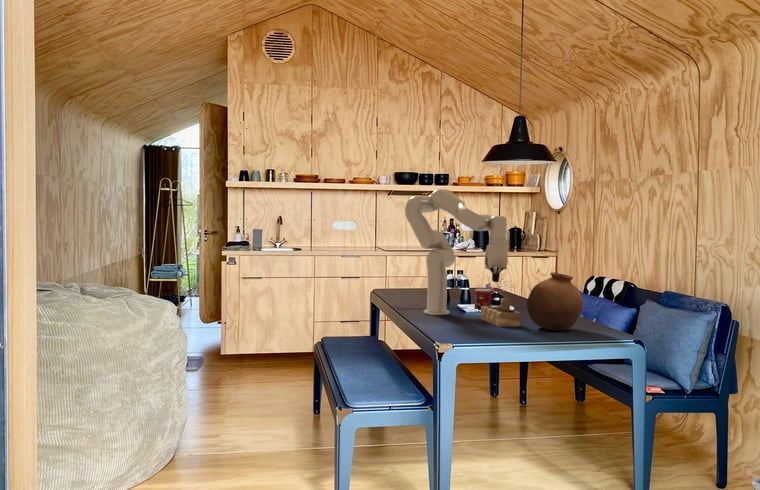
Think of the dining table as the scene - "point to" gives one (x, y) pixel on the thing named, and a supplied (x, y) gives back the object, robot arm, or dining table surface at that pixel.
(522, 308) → the dining table surface
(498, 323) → the oak block
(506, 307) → the walnut peg
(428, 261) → the robot arm
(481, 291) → the canned food
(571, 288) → the pottery
